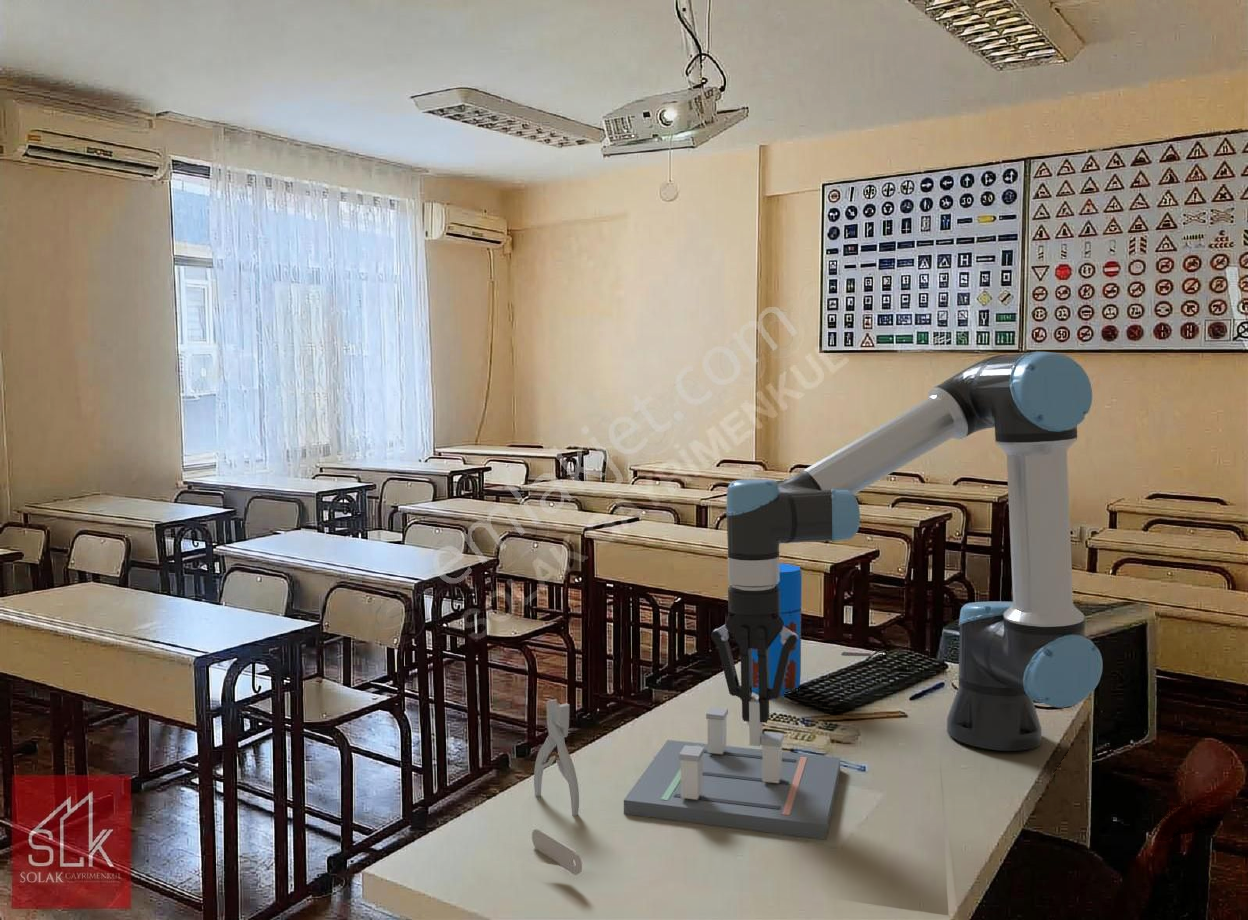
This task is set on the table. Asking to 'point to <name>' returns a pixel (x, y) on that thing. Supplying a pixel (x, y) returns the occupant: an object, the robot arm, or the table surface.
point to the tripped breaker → (772, 756)
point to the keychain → (557, 851)
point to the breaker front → (691, 771)
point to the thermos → (792, 621)
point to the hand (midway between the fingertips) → (756, 742)
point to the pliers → (557, 732)
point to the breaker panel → (740, 791)
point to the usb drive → (857, 654)
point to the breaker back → (716, 729)
